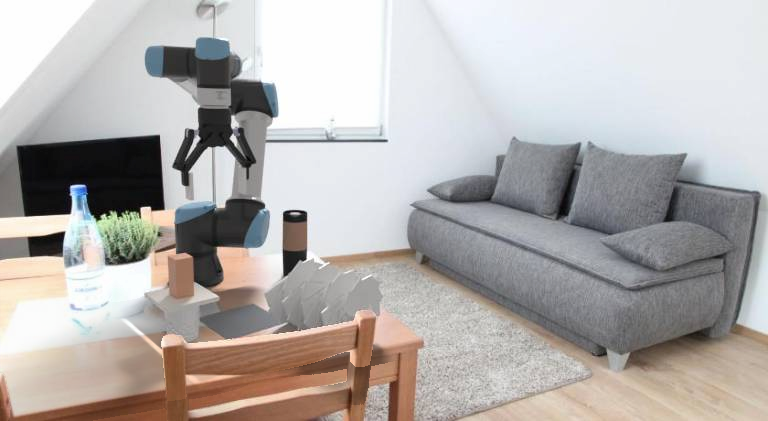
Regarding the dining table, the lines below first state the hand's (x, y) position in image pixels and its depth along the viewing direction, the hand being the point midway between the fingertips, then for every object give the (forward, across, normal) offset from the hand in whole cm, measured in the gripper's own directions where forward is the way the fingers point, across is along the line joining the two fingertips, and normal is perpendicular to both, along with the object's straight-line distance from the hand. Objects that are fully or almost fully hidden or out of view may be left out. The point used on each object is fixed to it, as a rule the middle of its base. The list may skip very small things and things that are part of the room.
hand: (217, 196), depth 135 cm
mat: (+31, +2, -8) cm, 32 cm away
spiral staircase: (+31, +14, -25) cm, 43 cm away
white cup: (+31, -13, -8) cm, 35 cm away
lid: (+21, -13, -8) cm, 26 cm away
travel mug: (+32, +33, +16) cm, 49 cm away
